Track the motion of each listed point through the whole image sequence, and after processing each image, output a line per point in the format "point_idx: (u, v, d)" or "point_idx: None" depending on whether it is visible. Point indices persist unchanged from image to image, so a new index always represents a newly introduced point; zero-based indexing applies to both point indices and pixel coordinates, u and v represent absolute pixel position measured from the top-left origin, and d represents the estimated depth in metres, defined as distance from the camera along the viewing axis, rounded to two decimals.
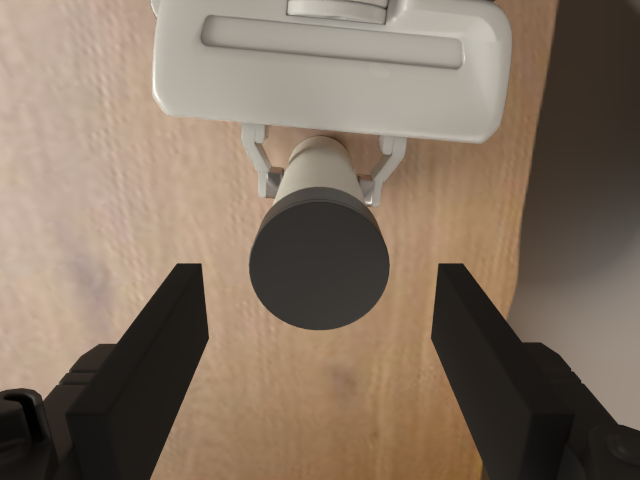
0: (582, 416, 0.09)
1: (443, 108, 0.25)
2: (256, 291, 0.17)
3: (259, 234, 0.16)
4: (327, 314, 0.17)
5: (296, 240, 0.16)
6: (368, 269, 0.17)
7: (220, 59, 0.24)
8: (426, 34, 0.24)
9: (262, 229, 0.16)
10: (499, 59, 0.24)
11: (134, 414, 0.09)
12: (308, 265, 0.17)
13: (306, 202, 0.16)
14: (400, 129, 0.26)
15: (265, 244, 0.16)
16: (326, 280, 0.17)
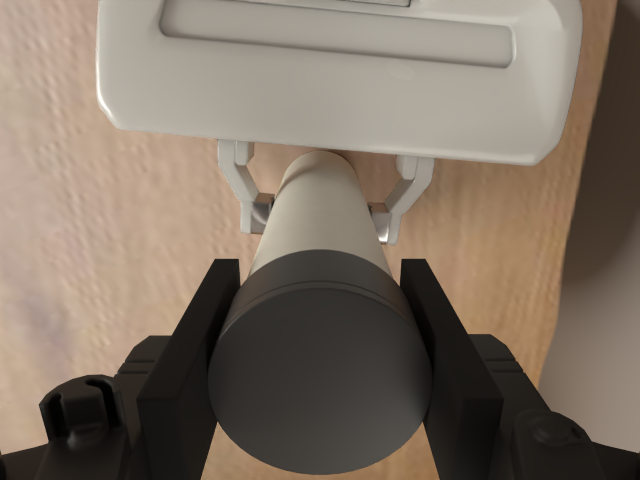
0: (517, 403, 0.09)
1: (485, 120, 0.19)
2: (220, 421, 0.11)
3: (221, 338, 0.10)
4: (333, 453, 0.11)
5: (282, 347, 0.10)
6: (399, 389, 0.10)
7: (186, 54, 0.18)
8: (464, 21, 0.18)
9: (226, 330, 0.10)
10: (564, 54, 0.18)
11: (194, 402, 0.09)
12: (302, 384, 0.10)
13: (298, 288, 0.09)
14: (427, 147, 0.19)
15: (232, 353, 0.10)
16: (331, 405, 0.10)
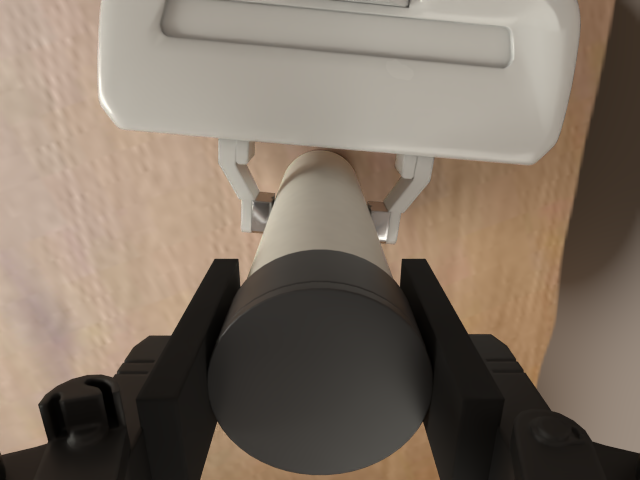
0: (518, 403, 0.09)
1: (483, 120, 0.19)
2: (410, 435, 0.11)
3: (328, 473, 0.11)
4: (379, 338, 0.10)
5: (302, 436, 0.11)
6: (268, 336, 0.10)
7: (187, 54, 0.18)
8: (463, 21, 0.18)
9: (320, 473, 0.11)
10: (562, 54, 0.18)
11: (194, 402, 0.09)
12: (324, 405, 0.10)
13: (248, 452, 0.11)
14: (426, 147, 0.20)
15: (335, 462, 0.11)
16: (328, 373, 0.10)
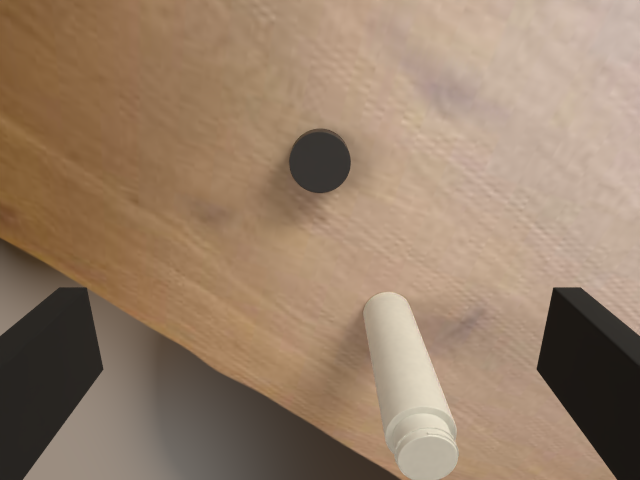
0: None
1: None
2: (298, 183, 0.39)
3: (290, 157, 0.38)
4: (331, 181, 0.39)
5: (305, 154, 0.38)
6: (339, 154, 0.38)
7: None
8: None
9: (290, 155, 0.38)
10: None
11: None
12: (314, 163, 0.38)
13: (303, 136, 0.37)
14: None
15: (294, 161, 0.38)
16: (324, 166, 0.38)
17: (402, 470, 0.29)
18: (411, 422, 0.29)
